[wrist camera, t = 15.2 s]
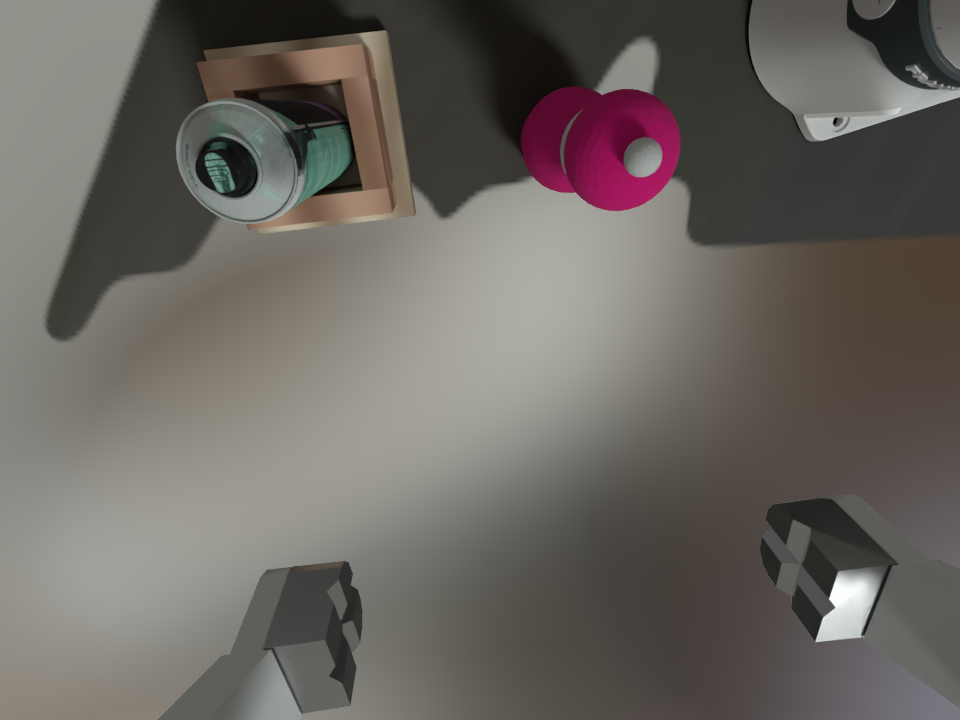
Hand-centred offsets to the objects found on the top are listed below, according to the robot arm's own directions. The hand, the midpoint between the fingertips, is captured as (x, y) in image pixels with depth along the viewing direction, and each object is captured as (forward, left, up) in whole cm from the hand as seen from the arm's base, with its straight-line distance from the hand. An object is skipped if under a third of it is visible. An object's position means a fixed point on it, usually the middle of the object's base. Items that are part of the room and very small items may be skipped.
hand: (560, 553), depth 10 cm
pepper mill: (-8, -5, -37) cm, 38 cm away
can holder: (+11, -7, -37) cm, 39 cm away
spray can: (+11, -7, -36) cm, 38 cm away
